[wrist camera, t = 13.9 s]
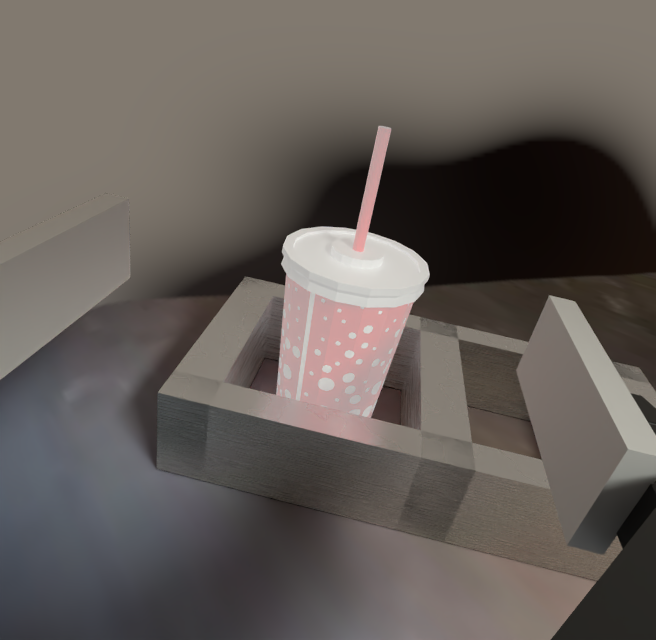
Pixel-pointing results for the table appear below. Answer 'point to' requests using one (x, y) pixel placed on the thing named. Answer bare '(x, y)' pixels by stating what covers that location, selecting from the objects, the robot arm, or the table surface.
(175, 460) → the grey hollow block
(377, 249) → the beverage cup
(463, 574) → the table surface
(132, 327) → the table surface
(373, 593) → the table surface
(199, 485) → the table surface
